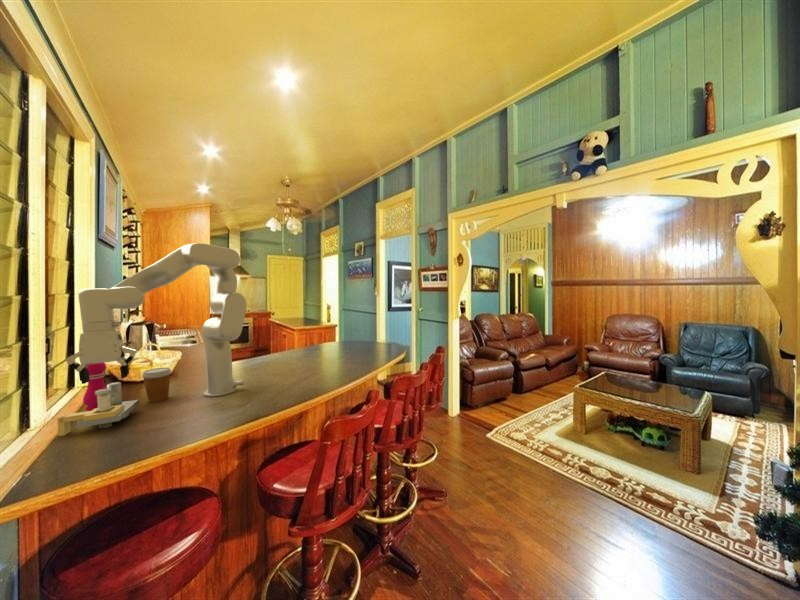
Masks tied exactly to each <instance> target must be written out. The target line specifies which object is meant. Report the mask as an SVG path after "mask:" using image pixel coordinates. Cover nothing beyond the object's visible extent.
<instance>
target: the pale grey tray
mask: <svg viewBox="0 0 800 600" xmlns="http://www.w3.org/2000/svg"><path fill="white" fill-rule="evenodd" d="M106 388H111V390H112V392H111V393H110V400H111V406H116V405H123V404H124V409H123V410H122V411H121V412H119V413H118V414H117V415H116V416H115V417H109V418H102V419H96V420H89V421H83V419H82V420H78V421H77V422H76V423H77V426H76V427H77V428H83V427H88V426H96V425H99V424H103V423H109V422H112V423H114V422H120V421H122V420H124V419H126V417H127V418H128V417H130V412H131V411H132V410H134V409H135V408H136V407H137V406H138V405H140V401H139V399H135V400H126V401H123V395H122V393H123V392H122V382H121V381H116V382H110V383H107V384H106ZM121 419H122V420H121Z"/></svg>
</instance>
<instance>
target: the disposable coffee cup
mask: <svg viewBox="0 0 800 600" xmlns="http://www.w3.org/2000/svg"><path fill="white" fill-rule="evenodd" d="M172 372H173V371H172V370H171V368H170V367H157V368H152V369H147V370H143V372H142V374H141V377H142V379H143V383H144V386H145V392H146V396H147V400H148V401H147V402H148V403H159V401H160V402H163V401H166V400H168V399H169V394H170V393H169V392H170V382H171V381H170V380H171V374H172ZM165 399H166V400H165ZM162 400H163V401H162Z"/></svg>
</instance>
